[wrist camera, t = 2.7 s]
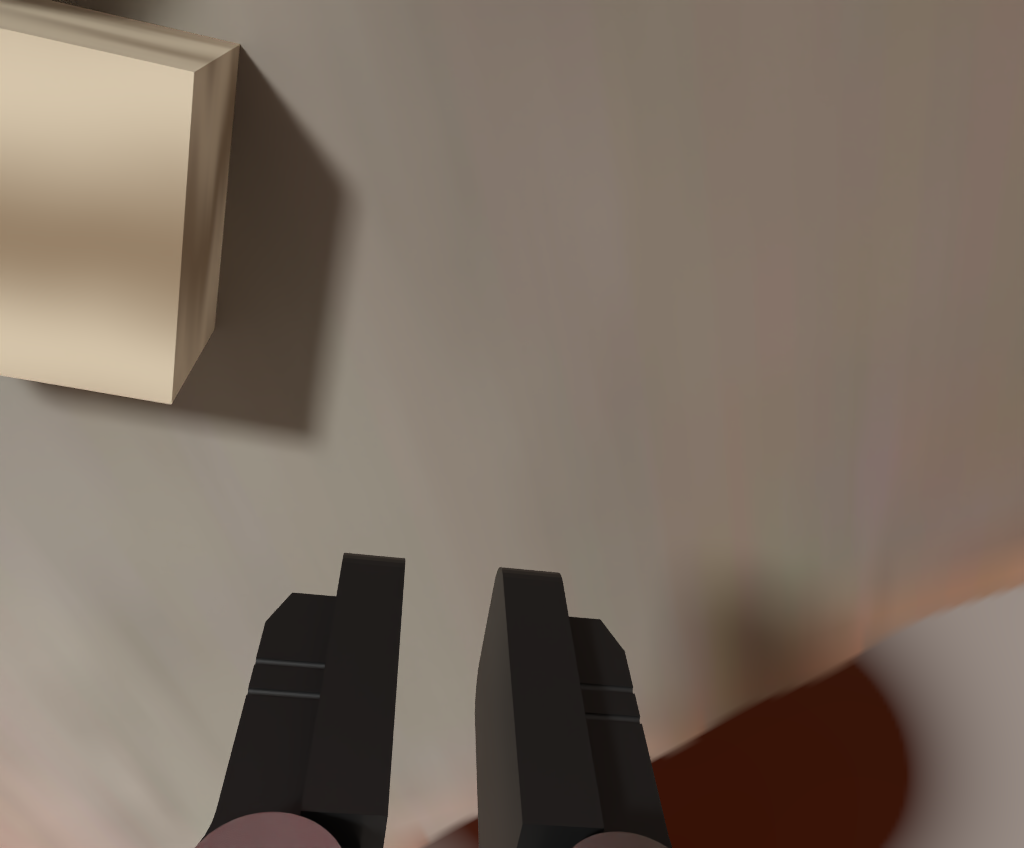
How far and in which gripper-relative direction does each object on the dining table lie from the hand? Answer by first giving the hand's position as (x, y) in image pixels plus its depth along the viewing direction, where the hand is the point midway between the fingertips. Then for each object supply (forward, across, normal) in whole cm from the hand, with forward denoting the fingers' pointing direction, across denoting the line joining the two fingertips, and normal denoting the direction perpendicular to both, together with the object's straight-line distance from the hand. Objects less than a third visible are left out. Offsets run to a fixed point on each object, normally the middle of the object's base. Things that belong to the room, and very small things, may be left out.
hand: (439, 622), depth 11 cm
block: (+17, +10, 0) cm, 20 cm away
